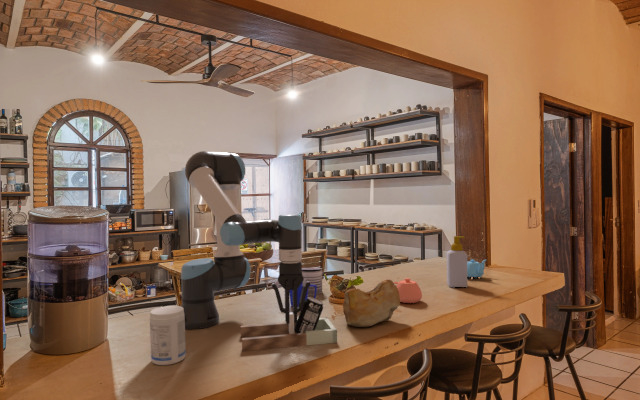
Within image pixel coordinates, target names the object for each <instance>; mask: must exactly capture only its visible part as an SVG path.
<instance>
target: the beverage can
mask: <svg viewBox="0 0 640 400" xmlns="http://www.w3.org/2000/svg"><path fill="white" fill-rule="evenodd" d="M323 309H324V302H323V301H322V300H320V299H317V298H314V297H311V296H308V297H307V299H306V300H305V302H304V306H303V310H302V311H300V312H299V316H297V323H296V325H295V328H294V330H295V333H294V334H297V333H306V331H314V330H315V329H316V326H317V323H318V321H319V318H321V315H322V312H323Z"/></svg>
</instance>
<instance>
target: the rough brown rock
mask: <svg viewBox="0 0 640 400" xmlns="http://www.w3.org/2000/svg"><path fill="white" fill-rule="evenodd" d="M393 282H394V281H393V280H391V279H386V280H382V281H381V282H379V283H378V284H377V285H376V286H375V287H374V288H373V289H372V290H368V291H364V290H361V289H360V288H351V289H350V288H349V289H347V290H345V292H344V299H343V304H342V306H343V307H342V309H343V315H344V319H345V321H346V324H347V325H349V326H351V327H355V328H361V327H363V328H364V327H371V326H374V325H376V324H379V323H382V322H387V321H389V320H391V318H392V316H393V314H394V312H395V311H396V310H397V309H398V307H399V306H400V305H401V303H400V295H399V291H398V288H397V287H396V286H397V284H394V283H393Z"/></svg>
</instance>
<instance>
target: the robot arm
mask: <svg viewBox="0 0 640 400" xmlns="http://www.w3.org/2000/svg"><path fill="white" fill-rule="evenodd" d="M184 172H185V178H186V180H187V182H188V183H189V185H190V186H191V187H192V188H194V189H196V190H197V192H198V193H199V194H200V196H201V198H202V199H203V201H204V202H205V204H206V205H207V207H208V208H209V210H210V211H211V212H212V214H213V216H214V218H215V229H216V247H217V248H216V249H217V252H216V253H215V254H214V255H213V258H209V257H204V258H198V259H192V260H190V261H187V262H184V263H183V265H182V266H181V269H180V270H181V271H180V281H181V282H180V283H181V284H180V285H181V305H180V307H183V308H184V317H185V330H187V329H188V330H195V329H196V330H198V329H205V328H206V329H207V328H209V327H213V326H215V325H217V324H218V323H219V322H220V314H219V311H218V308H217V306H216V302H215V293H217V292H218V293H219V292H222V291H223V292H224V291H227V290H232V289H233V290H235V289H238V288H241V287H244V286H246V284H247V283H248V282H249V280H250V277H251V274H252V273H251V272H252V271H251V270H252V267H251V263H250V261H249V260H248V258H246V257H245V255H244V252H242V250H241V249H240V246H242V245H250V244H251V245H252V244H259V243H261V244H262V243H268V242H269V243H270V242H274V243H278V260H279V261H280V262H279V263H278V267H279V268H278V278H277V280H276V281H275V282H271V287H272V289H273V290H274V294H275V297H276V301H277V306H278V308H279V311H280V312H281V313H283V314H284V315H285V316H284V317H285V319H284V321H285V322H286V324H289V334H295V333H294V323H297V320H298V313H300V312H301V311H302V310H303V306H304V302H305V297H306V293H307V289H308V287H309V286H310V282H309V281H306V280H304V277H303V276H302V268H303V262H302V261H301V260H302V259H303V254H302V253H303V251H302V250H303V249H302V248H303V247H302V243H303V242H302V241H303V240H302V233H303V231H302V229H303V226H302V217H301V215H300V214H293V213H292V214H288V213H287V214H280V215H278V219H270V218H266V219H265V218H264V219H260V220H246V218H244V216H243V215H242V214H241V213H240V211H239V210H238V196H237V195H238V194H237V193H238V192H237V190H238V188H240V186H241V182H242V181H243V180H244V179H245V176H246V165H245V162H244V159H243V158H242V157H241V156H240V155H239V154H238V153H235V152H234V153H232V152H230V151H229V152H226V151H225V152H224V151H222V152H221V151H205V150H203V151H198V152H196V153H194V154H192V155H191V156H190V157H189V158H188V160H187V161H186V164H185V169H184ZM302 282H303V283H302ZM301 283H302V285H303V288H302V292H301V296H300V301H299V305H298V307H297V289H298V288H299V286H300V285H301ZM280 286H281V287H282V289H284V304H283V301H282V298H281V294H280V290H279V288H280ZM290 290H292V296H293V306H292V311H291V310H290V309H291V308H290V305H291V303H290Z"/></svg>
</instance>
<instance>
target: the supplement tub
mask: <svg viewBox="0 0 640 400" xmlns="http://www.w3.org/2000/svg"><path fill="white" fill-rule="evenodd" d="M149 335H150V358H151V359H150V360H151V362H152V363H153V364H155V365H157V366H169V365H174V364H177V363H179V362H181V361H182V360H184V359H185V357H186V355H187V354H186V353H187V349H186V329H185V317H184V308H183V307H181V305H180V306H179V305H165V306H161V307H156V308H153V309H152V310H151V311H150V312H149Z"/></svg>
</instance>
